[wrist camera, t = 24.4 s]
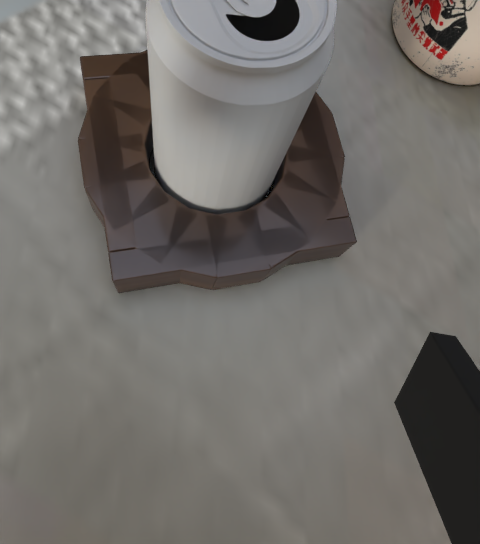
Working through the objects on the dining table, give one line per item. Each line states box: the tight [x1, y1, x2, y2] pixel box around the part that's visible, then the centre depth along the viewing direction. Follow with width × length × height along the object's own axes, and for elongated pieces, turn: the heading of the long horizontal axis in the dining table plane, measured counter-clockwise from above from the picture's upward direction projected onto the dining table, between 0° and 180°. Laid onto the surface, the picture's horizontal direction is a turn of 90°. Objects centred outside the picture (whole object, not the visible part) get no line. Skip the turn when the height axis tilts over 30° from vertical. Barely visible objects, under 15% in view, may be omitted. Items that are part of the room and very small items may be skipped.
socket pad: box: [78, 50, 357, 293], centre depth 24 cm, size 13×13×2 cm
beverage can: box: [146, 0, 337, 214], centre depth 20 cm, size 6×6×12 cm
